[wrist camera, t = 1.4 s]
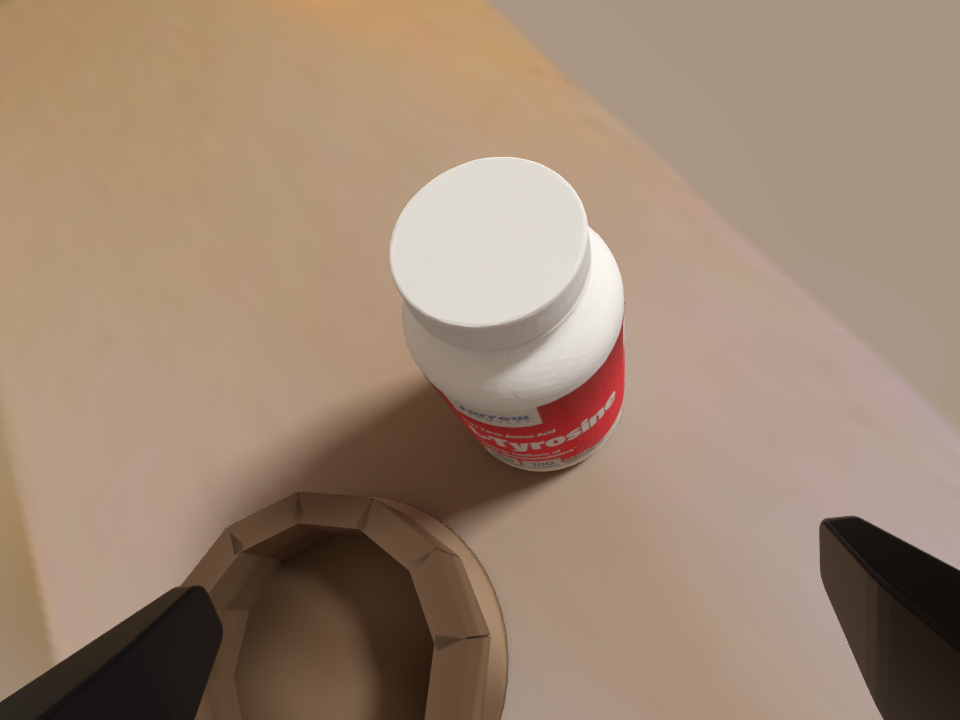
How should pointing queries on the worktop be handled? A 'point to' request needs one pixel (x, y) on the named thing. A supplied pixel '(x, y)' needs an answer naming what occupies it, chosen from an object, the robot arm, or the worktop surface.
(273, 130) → the worktop surface
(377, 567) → the collar stand
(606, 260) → the pill bottle
